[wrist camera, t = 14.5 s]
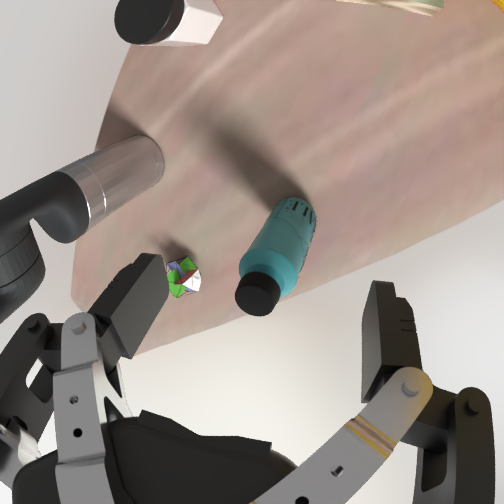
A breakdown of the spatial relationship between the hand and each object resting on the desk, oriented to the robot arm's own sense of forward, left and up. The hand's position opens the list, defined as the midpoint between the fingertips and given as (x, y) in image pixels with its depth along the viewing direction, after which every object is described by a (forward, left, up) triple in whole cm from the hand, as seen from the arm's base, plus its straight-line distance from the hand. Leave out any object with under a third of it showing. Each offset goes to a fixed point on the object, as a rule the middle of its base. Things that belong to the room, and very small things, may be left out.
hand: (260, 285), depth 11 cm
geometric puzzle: (-23, -26, -32) cm, 47 cm away
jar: (-19, +16, -32) cm, 40 cm away
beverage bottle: (-4, -12, -32) cm, 34 cm away
